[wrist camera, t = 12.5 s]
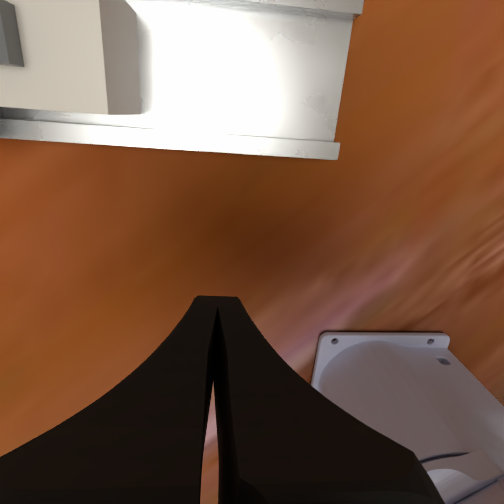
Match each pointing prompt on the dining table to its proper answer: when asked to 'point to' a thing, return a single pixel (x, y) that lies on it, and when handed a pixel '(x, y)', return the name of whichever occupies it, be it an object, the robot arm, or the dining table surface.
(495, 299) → the dining table surface
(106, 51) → the module
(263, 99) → the rail
